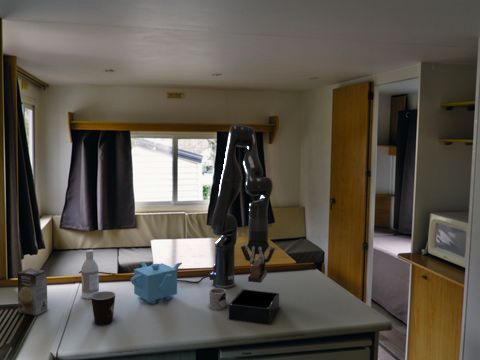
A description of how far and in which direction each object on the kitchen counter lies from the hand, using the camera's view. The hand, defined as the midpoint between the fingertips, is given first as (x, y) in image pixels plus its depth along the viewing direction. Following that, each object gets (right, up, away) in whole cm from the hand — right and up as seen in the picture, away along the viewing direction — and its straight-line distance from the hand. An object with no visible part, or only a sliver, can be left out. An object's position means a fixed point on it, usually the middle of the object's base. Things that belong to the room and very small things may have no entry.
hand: (257, 271), depth 169 cm
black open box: (-1, -17, +1) cm, 17 cm away
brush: (0, -3, 0) cm, 3 cm away
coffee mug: (-57, -17, -7) cm, 60 cm away
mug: (-15, -16, +9) cm, 24 cm away
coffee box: (-88, -16, 0) cm, 89 cm away
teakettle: (-42, -15, +17) cm, 48 cm away
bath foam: (-71, -14, +17) cm, 75 cm away
